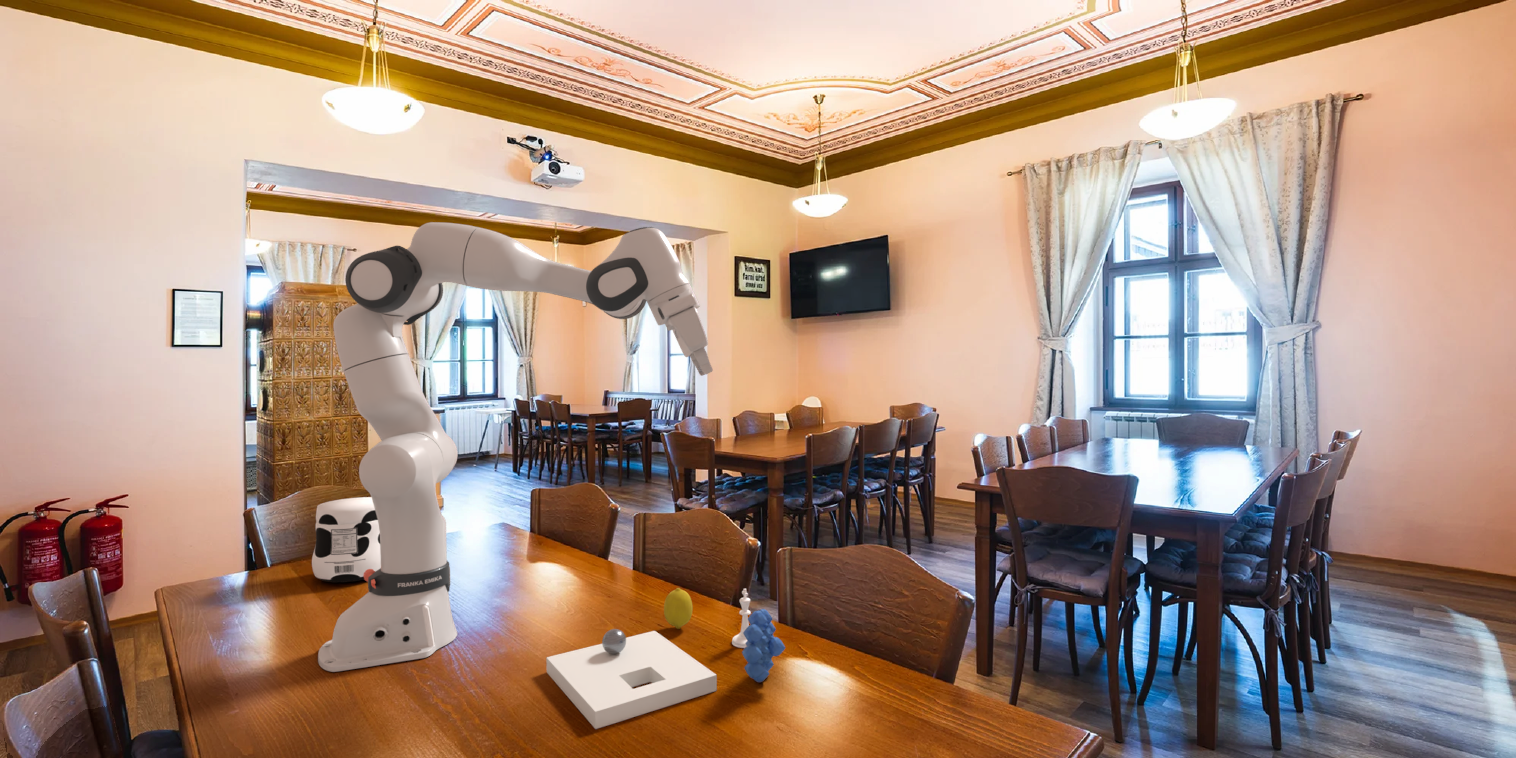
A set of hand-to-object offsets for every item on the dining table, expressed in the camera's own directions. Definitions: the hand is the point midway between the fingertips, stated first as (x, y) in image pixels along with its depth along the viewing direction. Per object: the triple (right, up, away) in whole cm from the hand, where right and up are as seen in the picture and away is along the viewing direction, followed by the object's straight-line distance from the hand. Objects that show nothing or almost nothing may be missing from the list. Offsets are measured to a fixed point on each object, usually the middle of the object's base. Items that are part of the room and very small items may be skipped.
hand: (706, 373), depth 132 cm
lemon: (-6, -50, +3) cm, 50 cm away
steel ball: (-15, -46, -14) cm, 50 cm away
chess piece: (+7, -50, -4) cm, 51 cm away
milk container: (-89, -49, +37) cm, 108 cm away
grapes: (+11, -50, -19) cm, 55 cm away
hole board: (-11, -50, -19) cm, 55 cm away
